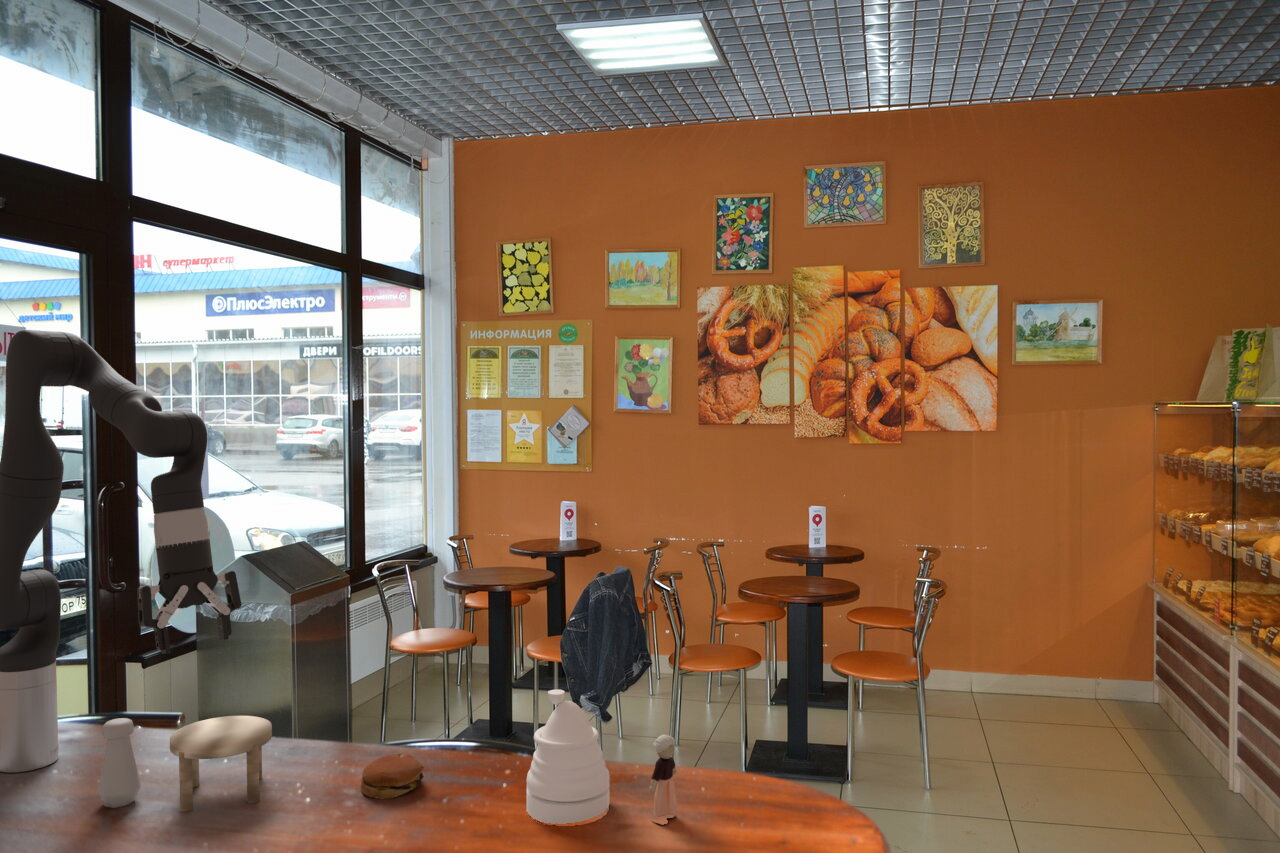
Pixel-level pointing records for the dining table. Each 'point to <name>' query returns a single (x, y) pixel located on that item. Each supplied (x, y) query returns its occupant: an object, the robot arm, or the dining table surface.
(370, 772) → the burger
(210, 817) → the dining table surface
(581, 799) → the honey pot
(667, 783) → the grandmother figurine
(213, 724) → the stool
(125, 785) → the salt shaker
